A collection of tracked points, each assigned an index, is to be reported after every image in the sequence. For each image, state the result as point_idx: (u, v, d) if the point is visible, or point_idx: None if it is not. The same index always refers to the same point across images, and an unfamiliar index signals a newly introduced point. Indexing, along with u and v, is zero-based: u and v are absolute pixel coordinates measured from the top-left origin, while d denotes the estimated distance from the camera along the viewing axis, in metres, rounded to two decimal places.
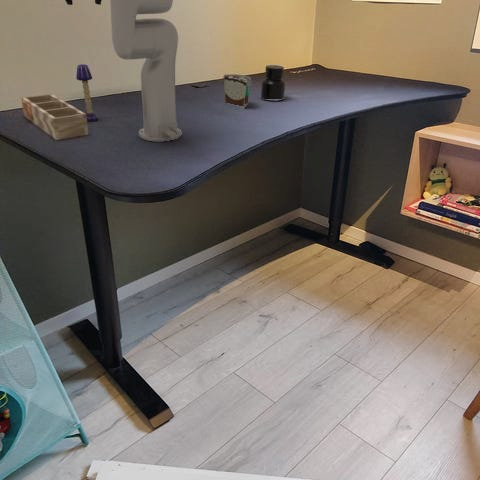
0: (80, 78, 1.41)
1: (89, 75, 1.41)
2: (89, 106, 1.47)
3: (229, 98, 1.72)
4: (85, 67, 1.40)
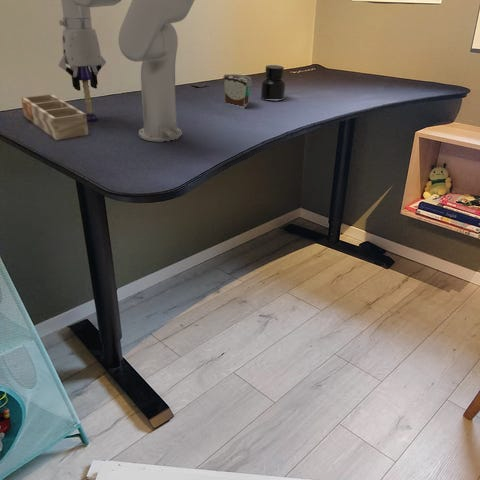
0: (80, 78, 1.41)
1: (89, 75, 1.41)
2: (89, 106, 1.47)
3: (229, 98, 1.72)
4: (85, 67, 1.40)
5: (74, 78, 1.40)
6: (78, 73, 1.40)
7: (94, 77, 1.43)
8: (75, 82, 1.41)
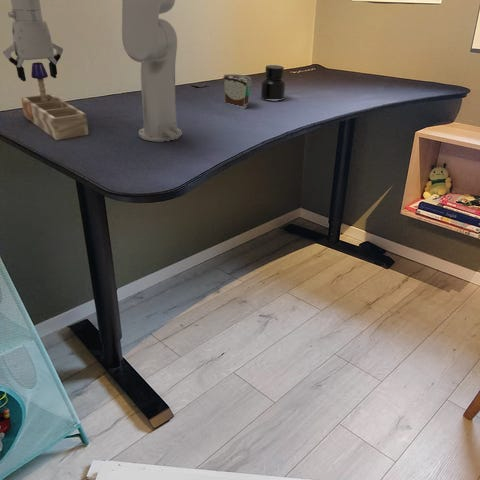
0: (35, 76, 1.40)
1: (44, 73, 1.41)
2: None
3: (229, 98, 1.72)
4: (40, 65, 1.39)
5: (18, 68, 1.37)
6: (32, 71, 1.40)
7: (53, 66, 1.42)
8: (20, 72, 1.38)
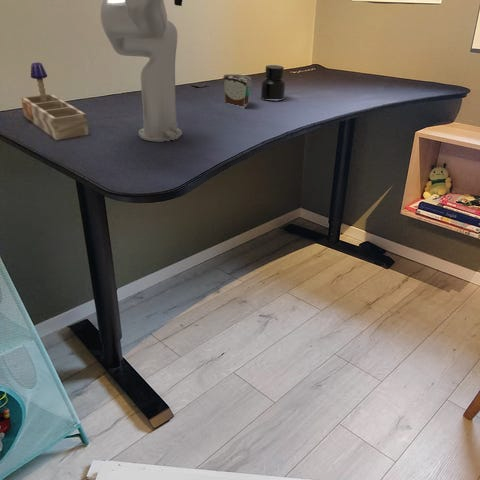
0: (34, 76, 1.40)
1: (43, 73, 1.41)
2: None
3: (229, 98, 1.72)
4: (39, 65, 1.39)
5: None
6: (32, 71, 1.40)
7: None
8: None
